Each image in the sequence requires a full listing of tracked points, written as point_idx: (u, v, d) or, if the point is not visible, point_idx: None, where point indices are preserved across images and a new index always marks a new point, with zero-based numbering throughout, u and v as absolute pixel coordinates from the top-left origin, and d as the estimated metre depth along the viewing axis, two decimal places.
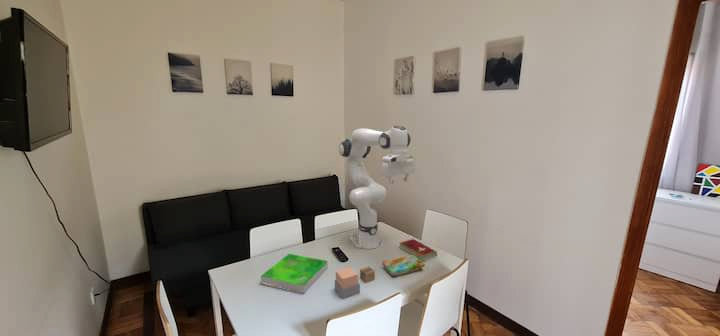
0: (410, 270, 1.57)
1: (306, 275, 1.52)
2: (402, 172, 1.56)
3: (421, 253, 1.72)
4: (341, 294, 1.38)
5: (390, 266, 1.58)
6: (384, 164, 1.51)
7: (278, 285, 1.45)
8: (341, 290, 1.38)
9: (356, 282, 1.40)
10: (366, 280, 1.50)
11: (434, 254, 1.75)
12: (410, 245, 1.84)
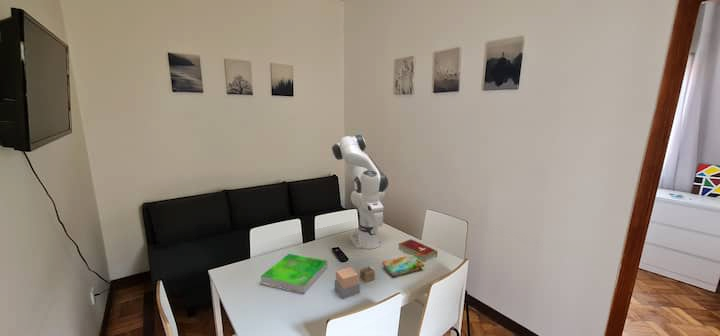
0: (410, 270, 1.58)
1: (306, 275, 1.52)
2: None
3: (422, 253, 1.72)
4: (341, 293, 1.38)
5: (390, 266, 1.58)
6: (378, 214, 1.39)
7: (278, 285, 1.45)
8: (341, 290, 1.38)
9: (356, 282, 1.40)
10: (366, 280, 1.50)
11: (434, 253, 1.76)
12: (410, 245, 1.83)
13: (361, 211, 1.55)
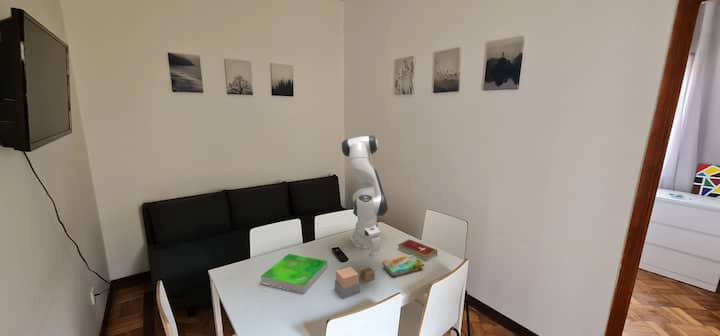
0: (410, 270, 1.58)
1: (306, 275, 1.52)
2: None
3: (423, 253, 1.72)
4: (341, 293, 1.38)
5: (390, 266, 1.58)
6: (376, 239, 1.40)
7: (278, 285, 1.45)
8: (341, 290, 1.38)
9: (357, 282, 1.40)
10: (366, 280, 1.50)
11: (435, 253, 1.77)
12: (409, 245, 1.83)
13: (356, 235, 1.55)
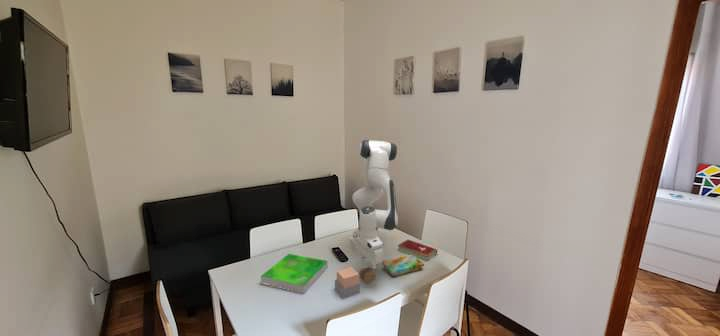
0: (410, 270, 1.58)
1: (306, 275, 1.52)
2: None
3: (424, 253, 1.72)
4: (342, 293, 1.38)
5: (390, 266, 1.58)
6: (378, 251, 1.42)
7: (278, 285, 1.45)
8: (341, 290, 1.38)
9: (357, 282, 1.40)
10: (366, 280, 1.50)
11: (435, 252, 1.77)
12: (409, 246, 1.82)
13: (357, 245, 1.55)
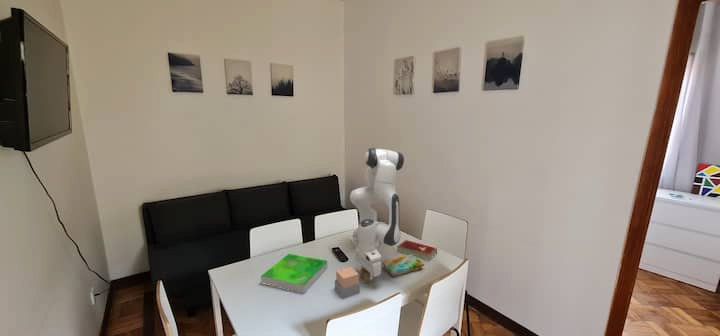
0: (410, 270, 1.58)
1: (306, 275, 1.52)
2: None
3: (426, 253, 1.73)
4: (341, 293, 1.38)
5: (390, 266, 1.58)
6: (377, 264, 1.43)
7: (278, 285, 1.45)
8: (341, 290, 1.38)
9: (357, 282, 1.40)
10: (366, 280, 1.50)
11: (435, 251, 1.79)
12: (409, 246, 1.81)
13: (356, 257, 1.57)
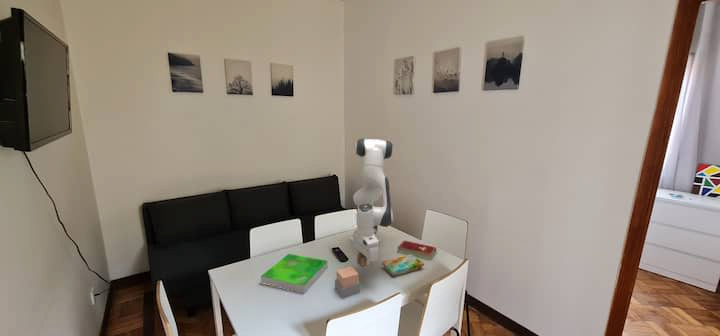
0: (410, 269, 1.58)
1: (306, 275, 1.52)
2: None
3: (427, 253, 1.73)
4: (341, 293, 1.38)
5: (390, 266, 1.58)
6: (374, 249, 1.42)
7: (278, 285, 1.45)
8: (341, 290, 1.38)
9: (357, 282, 1.40)
10: (363, 265, 1.48)
11: (434, 250, 1.80)
12: (409, 247, 1.81)
13: (354, 242, 1.56)
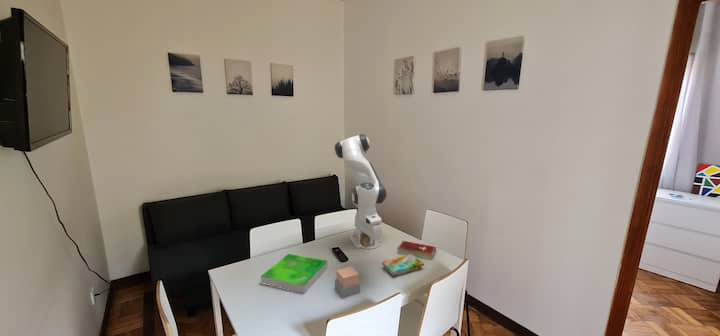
0: (410, 269, 1.58)
1: (306, 275, 1.52)
2: None
3: (428, 252, 1.73)
4: (341, 293, 1.38)
5: (390, 266, 1.58)
6: (377, 227, 1.39)
7: (278, 285, 1.45)
8: (341, 290, 1.38)
9: (357, 281, 1.40)
10: (366, 245, 1.46)
11: (434, 250, 1.80)
12: (409, 247, 1.80)
13: (356, 223, 1.53)
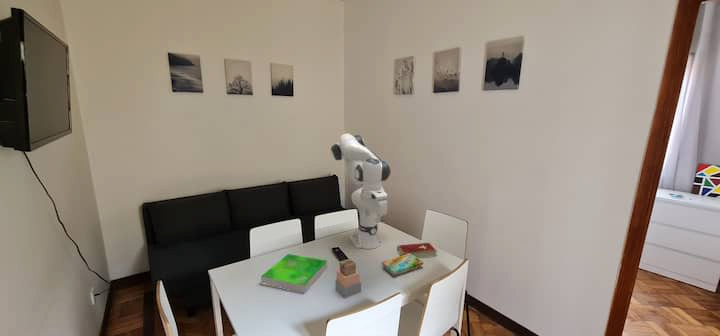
0: (410, 269, 1.59)
1: (306, 275, 1.52)
2: None
3: (431, 250, 1.77)
4: (343, 293, 1.38)
5: (390, 266, 1.58)
6: (383, 202, 1.36)
7: (278, 285, 1.45)
8: (343, 289, 1.38)
9: (357, 281, 1.41)
10: (346, 273, 1.38)
11: None
12: (411, 250, 1.77)
13: (361, 201, 1.50)
